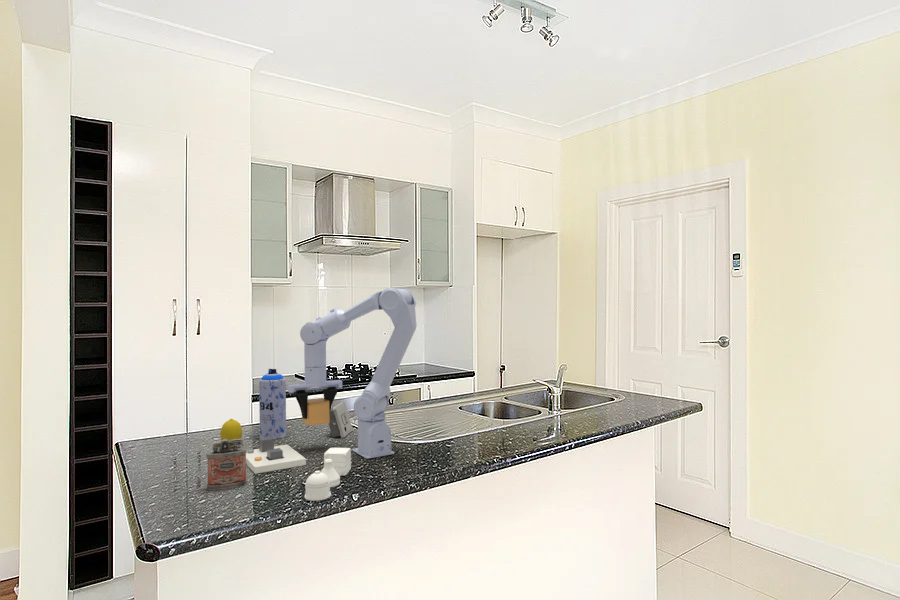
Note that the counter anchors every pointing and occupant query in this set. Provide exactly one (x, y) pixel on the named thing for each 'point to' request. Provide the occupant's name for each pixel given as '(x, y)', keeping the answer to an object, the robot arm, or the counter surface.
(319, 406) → the small cardboard box
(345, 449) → the container set
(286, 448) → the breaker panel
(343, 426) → the electrical switch
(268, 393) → the aerosol can
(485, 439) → the counter surface
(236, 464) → the lighter
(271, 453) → the button
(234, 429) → the lemon
